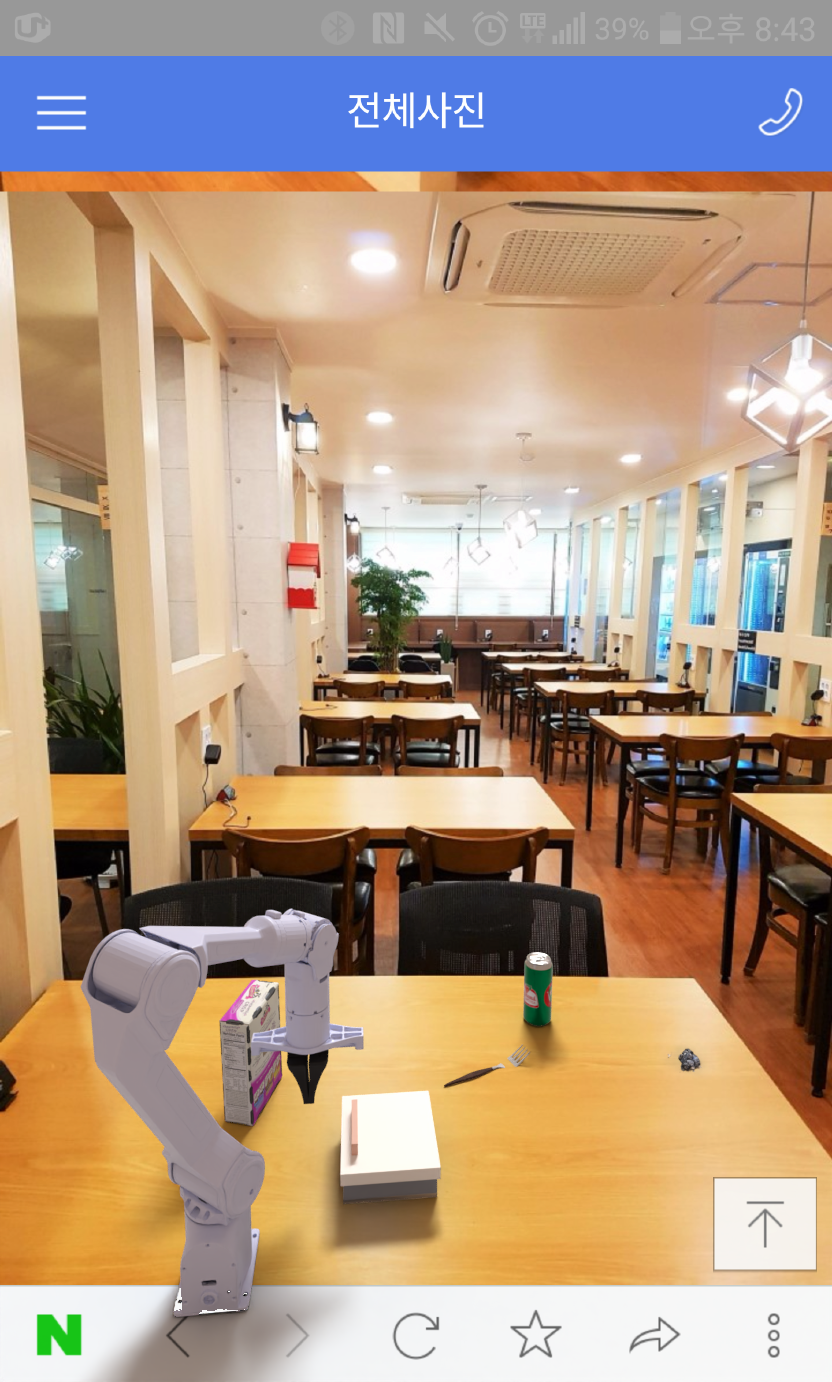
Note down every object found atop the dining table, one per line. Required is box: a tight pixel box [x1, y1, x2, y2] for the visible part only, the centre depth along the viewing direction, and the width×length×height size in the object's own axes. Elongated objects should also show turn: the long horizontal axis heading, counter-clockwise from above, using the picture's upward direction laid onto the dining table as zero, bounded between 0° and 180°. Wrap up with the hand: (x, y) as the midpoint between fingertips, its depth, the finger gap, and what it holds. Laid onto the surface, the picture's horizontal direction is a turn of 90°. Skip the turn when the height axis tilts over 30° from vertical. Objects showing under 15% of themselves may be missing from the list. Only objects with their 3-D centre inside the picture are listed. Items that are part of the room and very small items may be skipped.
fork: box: [443, 1044, 531, 1087], centre depth 111 cm, size 3×16×2 cm, turn 117°
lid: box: [339, 1090, 442, 1187], centre depth 92 cm, size 14×13×3 cm
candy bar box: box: [219, 979, 283, 1127], centre depth 104 cm, size 11×5×16 cm, turn 168°
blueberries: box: [667, 1048, 702, 1073], centre depth 115 cm, size 7×8×2 cm
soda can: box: [522, 952, 554, 1027], centre depth 125 cm, size 5×5×12 cm
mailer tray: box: [342, 1179, 438, 1205], centre depth 93 cm, size 12×12×4 cm
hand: (309, 1098), depth 91 cm, fingers closed
